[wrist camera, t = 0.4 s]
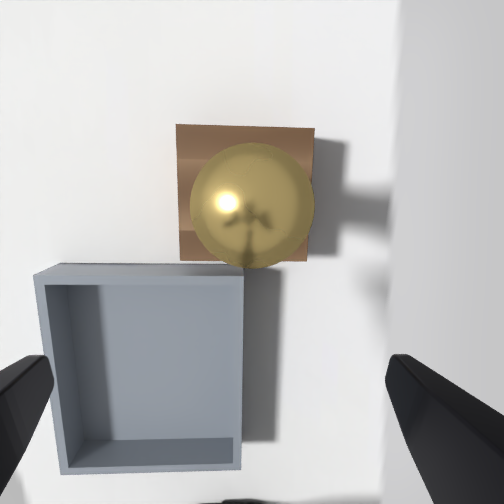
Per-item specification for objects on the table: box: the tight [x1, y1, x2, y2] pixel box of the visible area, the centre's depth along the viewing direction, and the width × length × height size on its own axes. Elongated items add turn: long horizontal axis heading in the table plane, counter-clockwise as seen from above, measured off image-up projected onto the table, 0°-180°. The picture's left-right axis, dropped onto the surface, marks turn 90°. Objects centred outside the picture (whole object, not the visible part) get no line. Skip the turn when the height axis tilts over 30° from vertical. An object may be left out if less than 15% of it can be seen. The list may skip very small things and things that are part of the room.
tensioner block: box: [176, 124, 315, 261], centre depth 20 cm, size 8×8×3 cm
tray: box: [33, 263, 244, 475], centre depth 22 cm, size 15×13×3 cm
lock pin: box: [190, 143, 315, 269], centre depth 16 cm, size 4×4×12 cm
